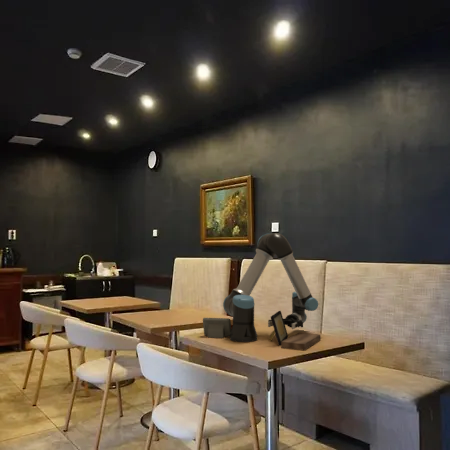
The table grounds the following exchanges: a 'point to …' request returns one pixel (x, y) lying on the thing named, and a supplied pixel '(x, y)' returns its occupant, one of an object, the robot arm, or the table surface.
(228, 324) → the digital clock
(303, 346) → the plinth
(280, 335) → the picture frame
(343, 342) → the table surface
